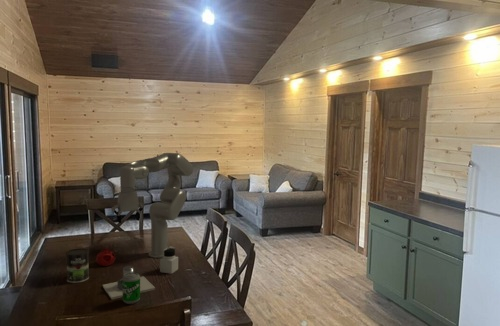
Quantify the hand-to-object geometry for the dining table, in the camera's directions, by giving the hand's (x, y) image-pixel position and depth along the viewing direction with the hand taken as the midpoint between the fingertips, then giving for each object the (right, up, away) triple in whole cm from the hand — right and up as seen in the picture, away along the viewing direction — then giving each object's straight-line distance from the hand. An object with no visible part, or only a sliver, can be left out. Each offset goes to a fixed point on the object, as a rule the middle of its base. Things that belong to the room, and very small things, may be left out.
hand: (128, 221), depth 209 cm
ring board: (+7, -29, -23) cm, 37 cm away
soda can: (+12, -30, -36) cm, 49 cm away
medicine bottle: (+22, -27, 0) cm, 34 cm away
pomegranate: (-15, -25, +8) cm, 30 cm away
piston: (+7, -27, -23) cm, 36 cm away
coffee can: (-21, -27, -13) cm, 37 cm away
